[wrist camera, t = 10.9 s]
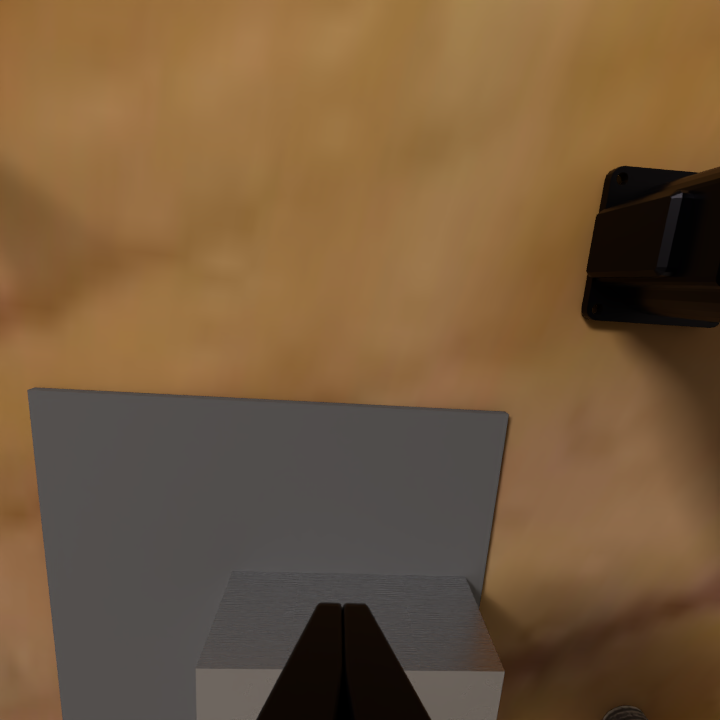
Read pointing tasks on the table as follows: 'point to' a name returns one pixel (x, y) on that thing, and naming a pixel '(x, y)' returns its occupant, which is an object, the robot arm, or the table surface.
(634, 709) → the lighter
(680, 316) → the robot arm
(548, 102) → the table surface
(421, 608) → the hitch block
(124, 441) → the mat
